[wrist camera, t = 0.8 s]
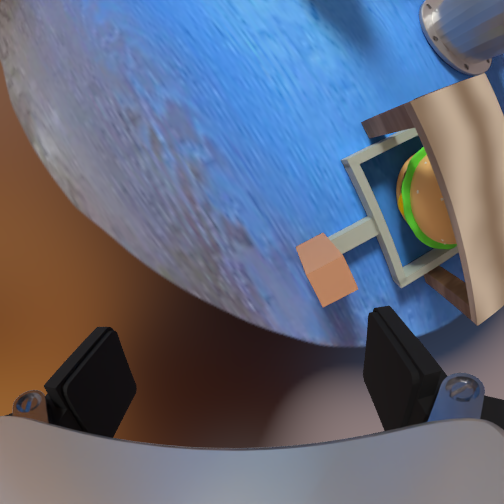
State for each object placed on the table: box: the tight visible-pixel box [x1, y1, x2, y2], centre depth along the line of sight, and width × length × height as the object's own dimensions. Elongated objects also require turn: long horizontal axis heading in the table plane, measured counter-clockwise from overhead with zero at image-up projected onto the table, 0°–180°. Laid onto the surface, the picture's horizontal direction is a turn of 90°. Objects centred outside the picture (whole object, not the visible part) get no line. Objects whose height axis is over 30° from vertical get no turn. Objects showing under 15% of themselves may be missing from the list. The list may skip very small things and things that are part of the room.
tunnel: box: [361, 73, 504, 326], centre depth 25 cm, size 10×22×12 cm, turn 29°
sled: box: [296, 128, 459, 307], centre depth 27 cm, size 26×16×9 cm, turn 119°
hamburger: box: [396, 147, 457, 249], centre depth 27 cm, size 12×12×9 cm
